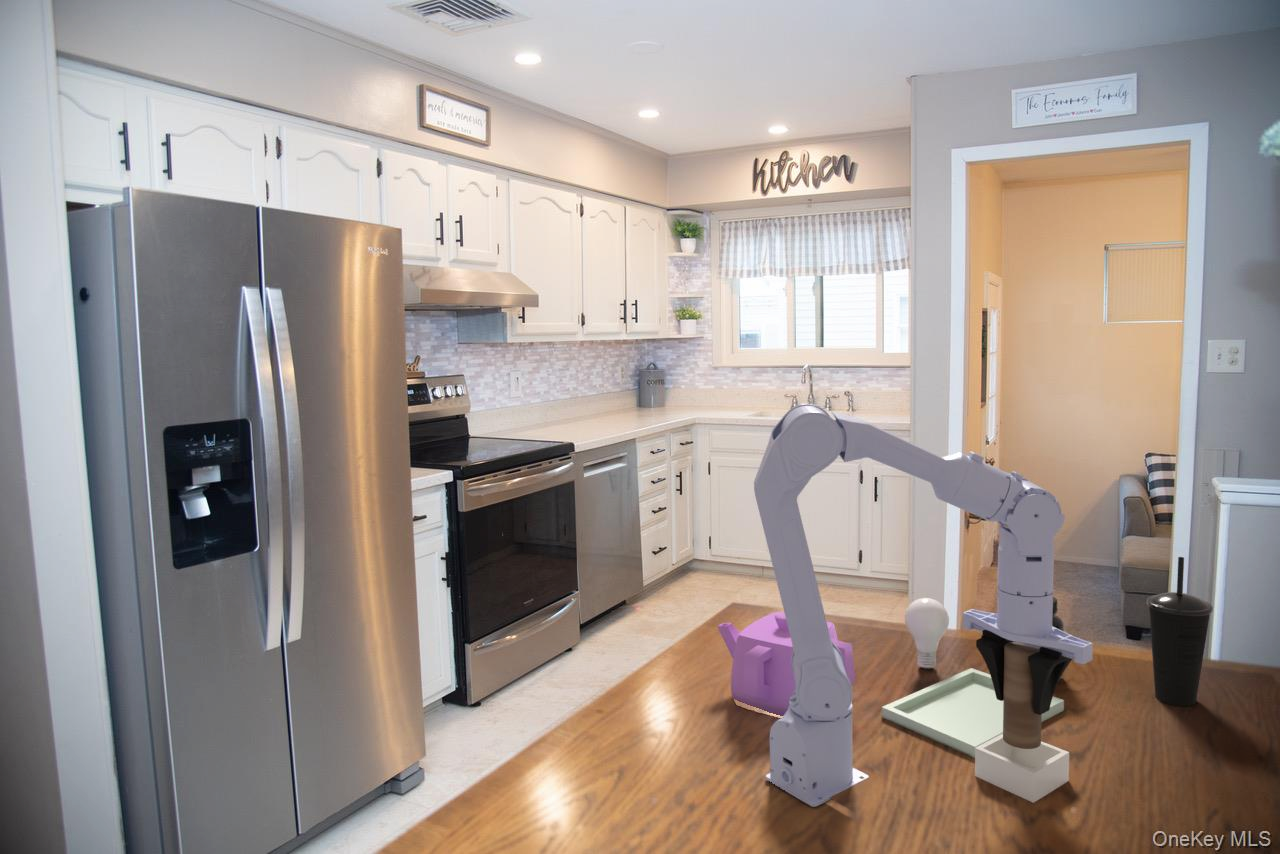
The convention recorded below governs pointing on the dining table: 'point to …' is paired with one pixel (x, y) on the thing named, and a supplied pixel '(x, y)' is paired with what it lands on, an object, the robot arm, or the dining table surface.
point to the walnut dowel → (1019, 698)
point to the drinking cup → (1178, 642)
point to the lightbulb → (926, 628)
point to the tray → (956, 711)
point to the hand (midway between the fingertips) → (1022, 704)
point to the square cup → (1022, 768)
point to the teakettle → (769, 662)
